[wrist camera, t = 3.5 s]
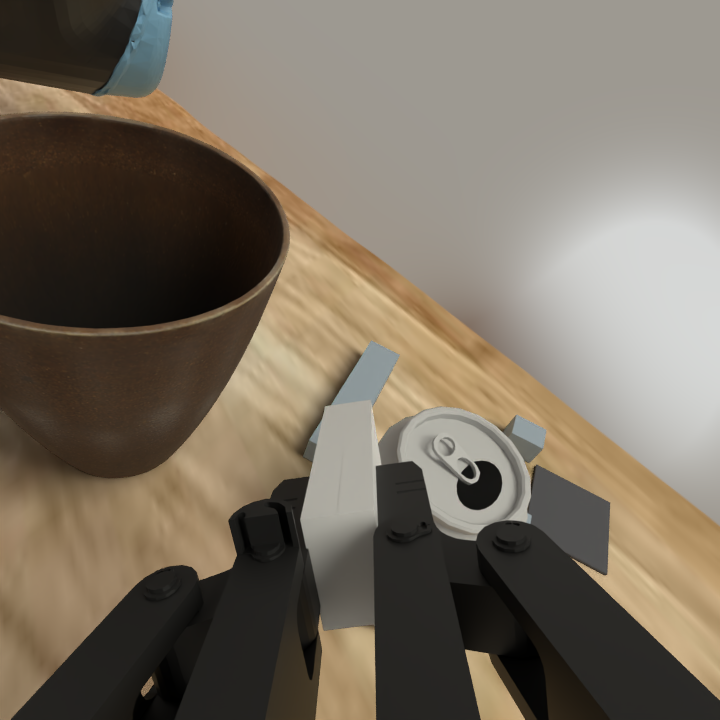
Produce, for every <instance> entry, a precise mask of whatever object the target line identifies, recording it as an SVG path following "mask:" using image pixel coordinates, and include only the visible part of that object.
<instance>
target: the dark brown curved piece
mask: <svg viewBox="0 0 720 720" xmlns="http://www.w3.org/2000/svg"><path fill="white" fill-rule="evenodd" d="M289 244H290V231H289V224H288V220H287V217H286V214H285V212H284V210H283V208H282V206H281V204H280V202H279V201H278V199H277V197H276V196H275V195H274V193H273V192H272V191H271V189H270V188H269V187H268V186H267V185H266V184H265V183H264V182H263V181H262V180H261V179H260V178H259V177H258V176H257V175H256V174H255V173H254V172H252V171H251V170H250V169H249V168H247V167H246V166H245V165H243V164H242V163H240V162H239V161H237V160H236V159H234V158H233V157H231V156H229V155H228V154H226V153H224V152H223V151H221V150H219V149H217V148H215V147H213V146H211V145H209V144H207V143H204V142H202V141H200V140H198V139H195V138H192V137H190V136H187V135H185V134H182V133H179V132H176V131H174V130H170V129H167V128H164V127H160V126H157V125H153V124H149V123H145V122H140V121H136V120H131V119H125V118H119V117H114V116H108V115H99V114H89V113H74V112H28V113H16V114H7V115H0V408H1V409H2V410H3V411H4V412H5V413H6V414H7V415H8V416H9V417H10V418H11V419H12V420H13V421H14V422H15V423H16V424H18V425H19V426H20V427H21V428H22V429H23V430H24V431H26V432H27V433H28V434H29V435H30V436H31V437H33V438H34V439H35V440H36V441H38V442H39V443H40V444H41V445H43V446H44V447H45V448H46V449H48V450H49V451H51V452H52V453H53V454H55V455H56V456H58V457H59V458H61V459H62V460H64V461H65V462H67V463H68V464H70V465H72V466H73V467H75V468H77V469H79V470H80V471H83V472H85V473H88V474H91V475H95V476H99V477H107V478H121V477H129V476H134V475H138V474H141V473H144V472H147V471H149V470H151V469H153V468H155V467H157V466H158V465H160V464H162V463H163V462H165V461H166V460H167V459H168V458H169V457H170V456H171V455H172V454H173V453H174V452H175V451H176V450H177V449H178V448H179V447H180V446H181V445H182V444H183V443H184V442H185V441H186V440H187V438H188V437H189V436H190V435H191V434H192V433H193V431H194V430H195V429H196V428H197V426H198V425H199V424H200V423H201V421H202V420H203V419H204V417H205V416H206V415H207V413H208V412H209V411H210V409H211V408H212V406H213V405H214V403H215V402H216V400H217V399H218V397H219V396H220V394H221V392H222V391H223V389H224V388H225V386H226V385H227V383H228V381H229V380H230V378H231V376H232V374H233V373H234V371H235V369H236V367H237V365H238V363H239V362H240V360H241V358H242V356H243V354H244V352H245V350H246V348H247V346H248V344H249V342H250V340H251V338H252V336H253V334H254V332H255V330H256V328H257V326H258V324H259V321H260V319H261V317H262V314H263V312H264V310H265V307H266V305H267V303H268V300H269V298H270V296H271V293H272V291H273V289H274V286H275V284H276V281H277V279H278V276H279V274H280V272H281V269H282V267H283V264H284V262H285V259H286V257H287V253H288V250H289Z"/></svg>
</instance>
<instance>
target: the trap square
mask: <svg viewBox="0 0 720 720" xmlns="http://www.w3.org/2000/svg"><path fill="white" fill-rule="evenodd" d="M527 513H528V514H530V515H532V517H531V523H530V524H532V525H534V526H536V527H537V528H539V529H540V530H542V531H543V532H544V533H545V534H546V535H548V536H549V537H550V538H551V539H552V540H553V541H554V542H555V543H556V544H557V545H558V546H559V547H560V548H561V549H562V550H563V551H564V552H565V553H566V554H567V555H568V556H570V557H571V558H573V559H575V560H577V561H579V562H581V563H583V564H585V565H587V566H588V567H590V568H592V569H594V570H596V571H598V572H600V573H602V574H604V575H607V567H608V542H609V516H610V502H608V501H606V500H604V499H602V498H600V497H598V496H596V495H594V494H592V493H590V492H589V491H587V490H585V489H583V488H581V487H579V486H577V485H575V484H573V483H571V482H569V481H567V480H565V479H563V478H561V477H560V476H558V475H556V474H554V473H552V472H550V471H548V470H546V469H544V468H542V467H540V466H538V465H536V466H535V471H534V476H533V482H532V488H531V499H530V501H529V504H528V510H527Z"/></svg>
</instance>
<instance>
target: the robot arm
mask: <svg viewBox="0 0 720 720" xmlns="http://www.w3.org/2000/svg"><path fill="white" fill-rule="evenodd" d="M172 5H173V0H0V78H3V79H9V80H15V81H20V82H26V83H31V84H37V85H43V86H48V87H54V88H59V89H65V90H71V91H76V92H82V93H87V94H91V95H93V96H103V95H114V96H124V97H134V98H139V97H145V96H147V95H149V94H151V93H152V92H153V91H154V90H155V89H156V88H157V86H158V85H159V83H160V80H161V78H162V74H163V71H164V67H165V63H166V57H167V52H168V46H169V40H170V33H171V24H172V10H171V7H172ZM228 521H229V525H230V529H231V533H232V537H233V541H234V545H235V549H236V553H237V557H236V559H235V562H234V565H233V567H232V568H231V569H230V570H227V571H225V572H222V573H220V574H217V575H214V576H211V577H208V578H206V579H203V580H200V581H199V578H198V575H197V572H196V571H195V570H194V569H193V568H192V567H188V566H184V565H179V566H170V567H166V568H164V569H160V570H157V571H156V572H154V573H152V574H151V575H149V576H147V577H145V578H144V579H143V580H142V581H140V582H139V583H138V584H137V585H136V586H135V587H134V588H133V589H132V590H131V591H130V592H129V593H128V594H127V595H126V596H125V597H124V598H123V599H122V601H121V602H120V603H119V604H118V605H117V606H116V607H115V608H114V609H113V610H112V611H111V612H110V613H109V614H108V616H107V617H106V618H105V619H104V620H103V621H102V622H101V623H100V624H99V625H98V626H97V627H96V628H95V630H94V631H93V632H92V633H91V634H90V635H89V636H88V637H87V638H86V639H85V640H84V641H83V642H82V643H81V645H80V646H79V647H78V648H77V649H76V650H75V651H74V652H73V653H72V654H71V655H70V656H69V657H68V659H67V660H66V661H65V662H64V663H63V664H62V665H61V666H60V667H59V668H58V669H57V670H56V671H55V672H54V674H53V675H52V676H51V677H50V678H49V679H48V680H47V681H46V682H45V683H44V684H43V685H42V686H41V688H40V689H39V690H38V691H37V692H36V693H35V694H34V695H33V696H32V697H31V698H30V699H29V700H28V701H27V703H26V704H25V705H24V706H23V707H22V708H21V709H20V710H19V711H18V712H17V713H16V714H15V715H14V717H13V718H12V719H11V720H315V716H316V706H317V696H318V686H319V676H320V665H321V655H322V647H321V641H320V636H319V631H318V624H319V615H321V620H322V624H323V629H324V631H325V630H333V629H341V628H349V627H358V626H366V625H374V624H375V672H376V720H481V719H480V715H479V710H478V706H477V701H476V697H475V693H474V688H473V684H472V679H471V675H470V670H469V666H468V662H467V657H466V653H465V650H471V651H478V652H484V653H489V656H490V659H491V662H492V664H493V666H494V668H495V669H496V671H497V673H498V674H499V676H500V678H501V680H502V681H503V683H504V685H505V686H506V688H507V690H508V691H509V693H510V695H511V696H512V698H513V700H514V701H515V703H516V705H517V706H518V708H519V710H520V711H521V713H522V715H523V716H524V718H525V720H720V700H719V699H718V698H717V697H715V696H714V695H713V694H712V693H711V692H710V691H709V690H708V689H707V688H706V687H705V686H704V685H703V684H702V683H701V682H700V681H699V680H698V679H697V678H696V677H695V676H694V675H693V674H691V673H690V672H689V671H688V670H687V669H686V668H685V667H684V666H683V665H682V664H681V663H680V662H679V661H678V660H677V659H676V658H675V657H674V656H673V655H672V654H671V653H670V652H669V651H667V650H666V649H665V648H664V647H663V646H662V645H661V644H660V643H659V642H658V641H657V640H656V639H655V638H654V637H653V636H652V635H651V634H650V633H649V632H648V631H647V630H646V629H645V628H644V627H642V626H641V625H640V624H639V623H638V622H637V621H636V620H635V619H634V618H633V617H632V616H631V615H630V614H629V613H628V612H627V611H626V610H625V609H624V608H623V607H622V606H621V605H620V604H618V603H617V602H616V601H615V600H614V599H613V598H612V597H611V596H610V595H609V594H608V593H607V592H606V591H605V590H604V589H603V588H602V587H601V586H600V585H599V584H598V583H597V582H596V581H594V580H593V579H592V578H591V577H590V576H589V575H588V574H587V573H586V572H585V571H584V570H583V569H582V568H581V567H580V566H579V565H578V564H577V563H576V562H575V561H574V560H573V559H572V558H570V557H569V556H568V555H567V554H566V553H565V552H564V551H563V550H562V549H561V548H560V547H559V546H558V545H557V544H556V543H555V542H554V541H553V540H552V539H551V538H550V537H549V536H548V535H546V534H545V533H544V532H543V531H542V530H540V529H539V528H537V527H536V526H534V525H532V524H529V523H526V522H522V521H514V520H513V521H512V520H506V521H499V522H494V523H492V524H490V525H487V526H485V527H484V528H483V529H482V530H481V531H480V532H479V533H478V534H477V539H476V541H474V540H464V539H458V538H454V537H451V536H448V535H446V534H445V533H443V532H441V531H440V530H439V529H438V528H437V527H436V525H435V523H434V520H433V516H432V511H431V507H430V502H429V498H428V494H427V490H426V485H425V481H424V476H423V471H422V468H420V467H419V466H418V465H417V464H415V463H414V462H413V461H407V462H400V463H393V464H386V465H381V459H380V453H379V447H378V441H377V435H376V429H375V422H374V416H373V410H372V404H371V400H365V401H358V402H351V403H344V404H337V405H330V406H325V409H324V414H323V418H322V423H321V428H320V432H319V437H318V441H317V446H316V450H315V455H314V459H313V464H312V468H311V473H310V477H302V478H295V479H288V480H283V481H282V482H281V483H280V484H279V485H278V486H277V487H276V488H275V489H274V490H273V492H272V495H271V498H270V499H264V500H260V501H256V502H253V503H250V504H248V505H246V506H244V507H242V508H240V509H239V510H238V511H236V512H235V513H234V514H233V515H232V516H231V518H230V519H229V520H228ZM151 676H152V679H153V682H154V685H153V686H152V688H151V689H150V690H149V692H148V693H147V694H146V695H145V696H144V697H143V696H142V694H141V689H142V688H143V686H144V685H145V684H146V682H147V681H148V679H149V678H150V677H151Z"/></svg>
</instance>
